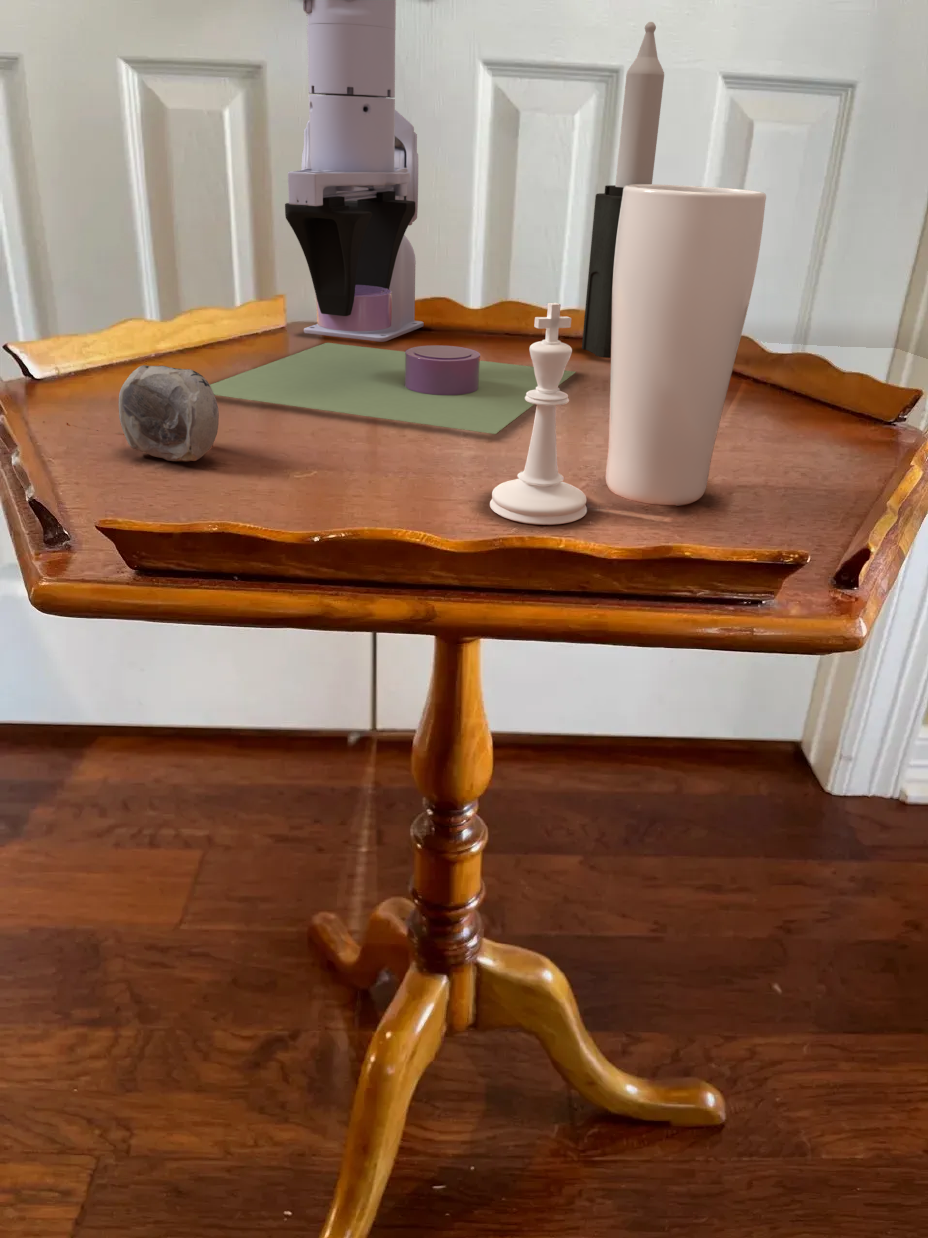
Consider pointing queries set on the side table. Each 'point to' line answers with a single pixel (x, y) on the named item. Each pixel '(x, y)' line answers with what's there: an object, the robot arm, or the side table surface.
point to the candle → (631, 169)
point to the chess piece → (543, 441)
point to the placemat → (383, 388)
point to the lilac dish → (362, 311)
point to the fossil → (168, 413)
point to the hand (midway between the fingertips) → (353, 308)
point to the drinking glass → (676, 332)
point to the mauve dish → (442, 370)
